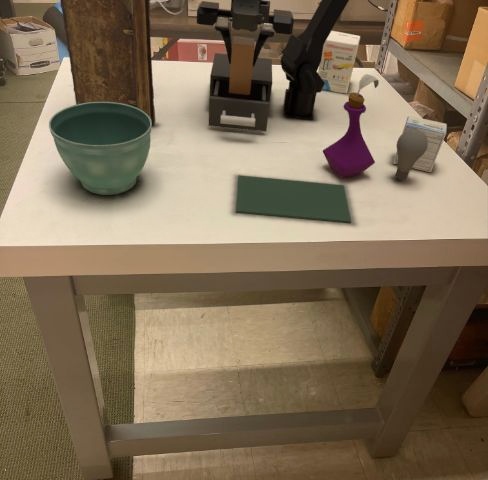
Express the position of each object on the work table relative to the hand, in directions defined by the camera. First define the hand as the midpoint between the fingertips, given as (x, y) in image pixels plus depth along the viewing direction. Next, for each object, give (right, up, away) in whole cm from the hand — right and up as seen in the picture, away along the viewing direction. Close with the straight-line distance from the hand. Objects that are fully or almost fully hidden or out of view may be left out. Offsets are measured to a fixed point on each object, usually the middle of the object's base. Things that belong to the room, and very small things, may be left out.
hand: (241, 64), depth 103 cm
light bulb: (+31, -26, -5) cm, 41 cm away
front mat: (+9, -32, -14) cm, 36 cm away
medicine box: (+36, -21, 0) cm, 41 cm away
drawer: (-1, -9, +5) cm, 11 cm away
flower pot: (-24, -29, -15) cm, 40 cm away
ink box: (+24, +9, +27) cm, 37 cm away
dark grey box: (-1, -1, +15) cm, 15 cm away
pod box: (0, -4, +4) cm, 5 cm away
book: (-27, -11, +2) cm, 29 cm away
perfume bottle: (+20, -24, -5) cm, 32 cm away
